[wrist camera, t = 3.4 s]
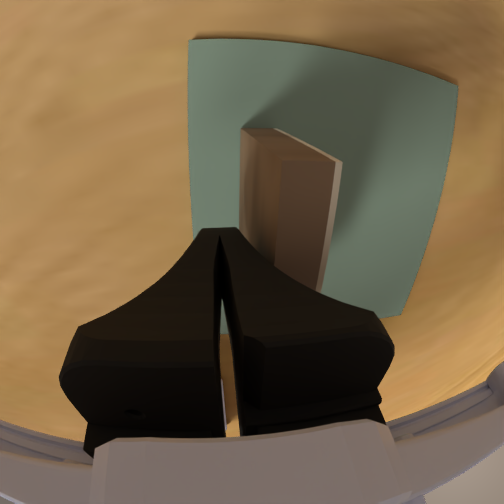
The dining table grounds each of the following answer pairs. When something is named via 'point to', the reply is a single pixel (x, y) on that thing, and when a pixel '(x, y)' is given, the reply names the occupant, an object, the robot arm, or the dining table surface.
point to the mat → (328, 151)
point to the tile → (288, 202)
